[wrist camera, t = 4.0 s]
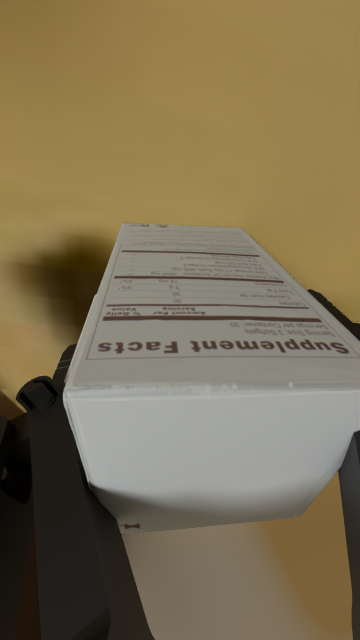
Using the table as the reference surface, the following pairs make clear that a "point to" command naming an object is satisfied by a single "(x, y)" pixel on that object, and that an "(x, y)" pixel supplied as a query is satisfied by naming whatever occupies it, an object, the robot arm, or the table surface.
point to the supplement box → (208, 383)
